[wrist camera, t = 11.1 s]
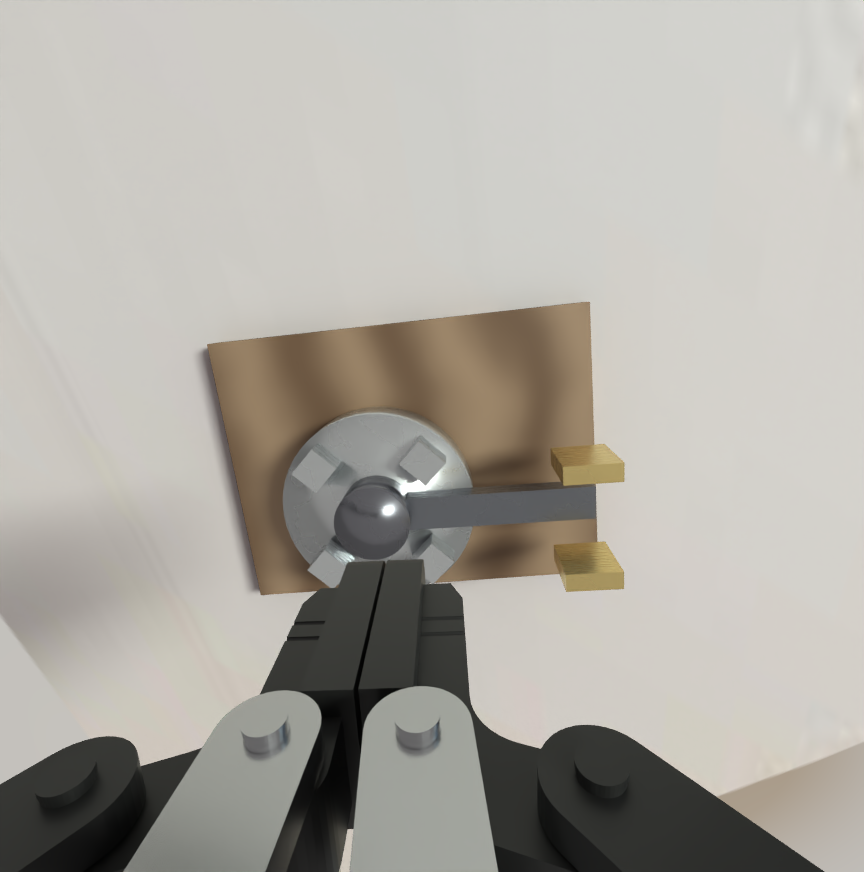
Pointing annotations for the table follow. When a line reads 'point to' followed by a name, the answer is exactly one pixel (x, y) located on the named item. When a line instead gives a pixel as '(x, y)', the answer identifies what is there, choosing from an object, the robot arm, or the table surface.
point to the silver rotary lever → (430, 499)
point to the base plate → (422, 394)
